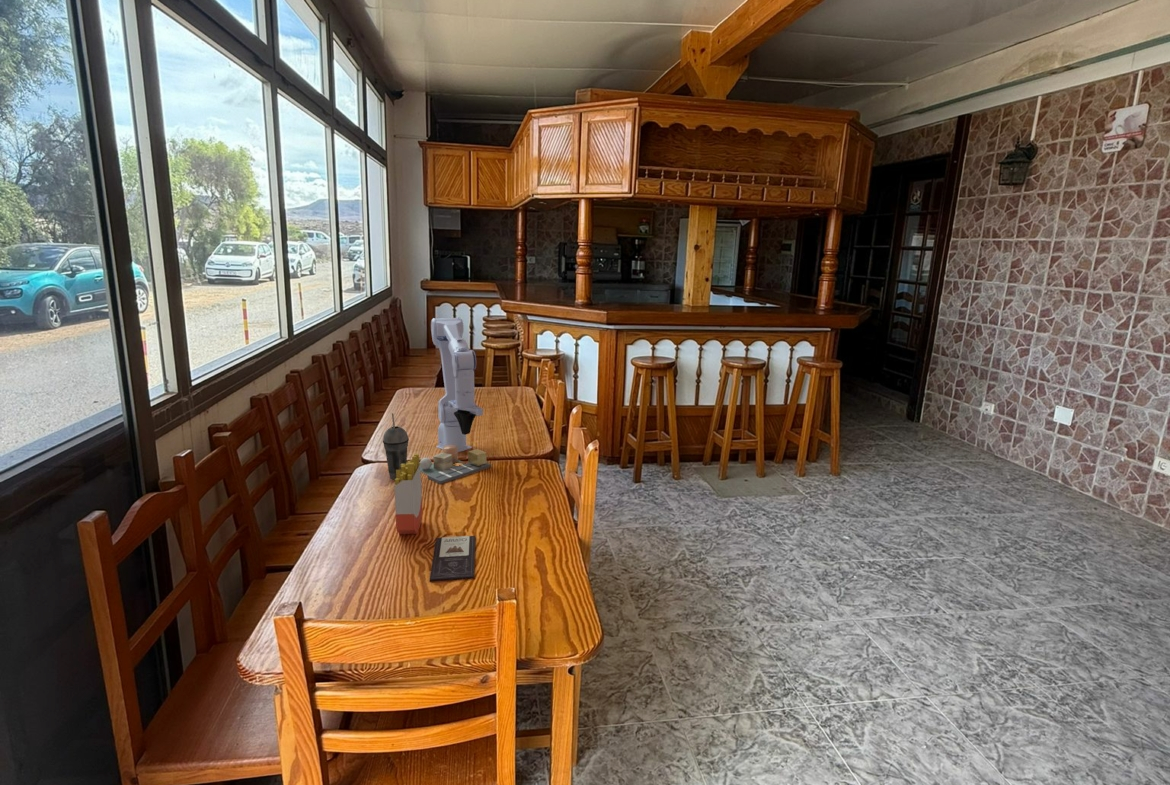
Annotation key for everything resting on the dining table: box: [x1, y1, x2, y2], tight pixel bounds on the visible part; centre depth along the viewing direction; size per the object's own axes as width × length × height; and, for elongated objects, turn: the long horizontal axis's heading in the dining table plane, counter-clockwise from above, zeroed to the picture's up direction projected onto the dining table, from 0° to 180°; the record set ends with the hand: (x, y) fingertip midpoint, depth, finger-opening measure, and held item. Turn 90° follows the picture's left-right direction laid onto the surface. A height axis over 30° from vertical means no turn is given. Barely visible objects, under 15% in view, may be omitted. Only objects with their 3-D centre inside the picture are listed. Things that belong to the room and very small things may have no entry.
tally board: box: [427, 461, 492, 485], centre depth 181 cm, size 6×19×1 cm, turn 139°
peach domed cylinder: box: [442, 445, 459, 464], centre depth 188 cm, size 4×4×5 cm
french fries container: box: [394, 453, 423, 535], centre depth 144 cm, size 5×11×18 cm, turn 5°
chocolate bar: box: [429, 535, 476, 583], centre depth 133 cm, size 9×1×18 cm
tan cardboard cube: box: [467, 448, 487, 466], centre depth 185 cm, size 4×4×4 cm
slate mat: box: [420, 459, 465, 476], centre depth 185 cm, size 8×14×1 cm, turn 139°
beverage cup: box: [382, 412, 410, 481], centre depth 174 cm, size 7×7×20 cm
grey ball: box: [419, 457, 433, 470], centre depth 182 cm, size 4×4×4 cm
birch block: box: [433, 452, 453, 471], centre depth 184 cm, size 4×4×4 cm
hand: (465, 433), depth 185 cm, fingers closed
